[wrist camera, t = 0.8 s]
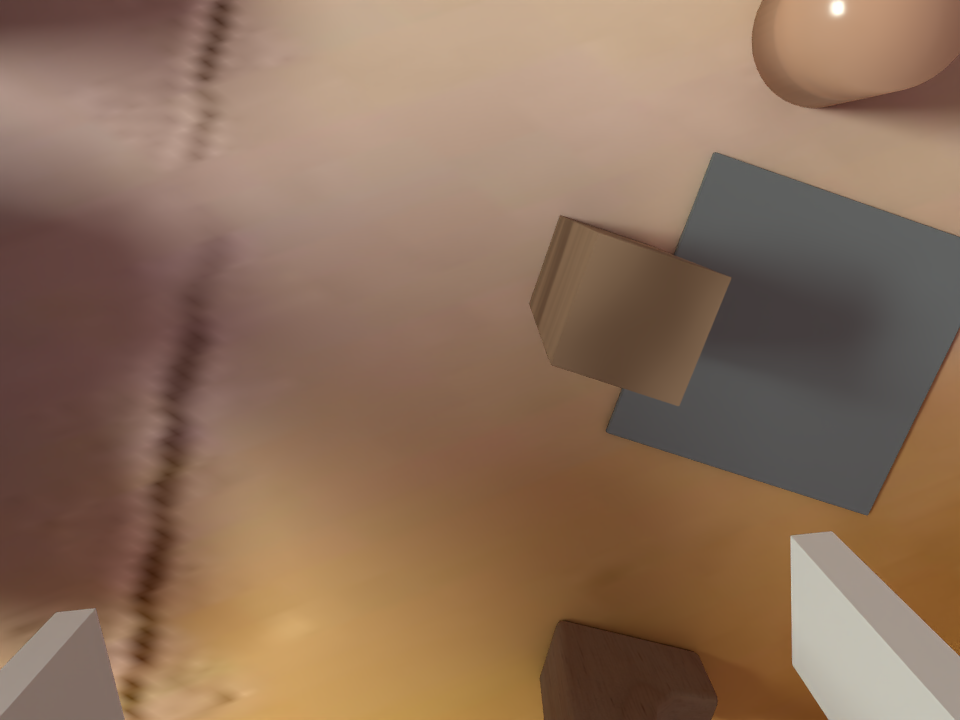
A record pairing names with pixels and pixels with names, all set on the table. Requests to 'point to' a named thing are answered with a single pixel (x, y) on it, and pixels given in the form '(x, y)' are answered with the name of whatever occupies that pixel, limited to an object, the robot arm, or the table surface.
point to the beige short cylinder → (852, 47)
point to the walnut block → (624, 310)
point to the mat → (806, 337)
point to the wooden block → (621, 678)
